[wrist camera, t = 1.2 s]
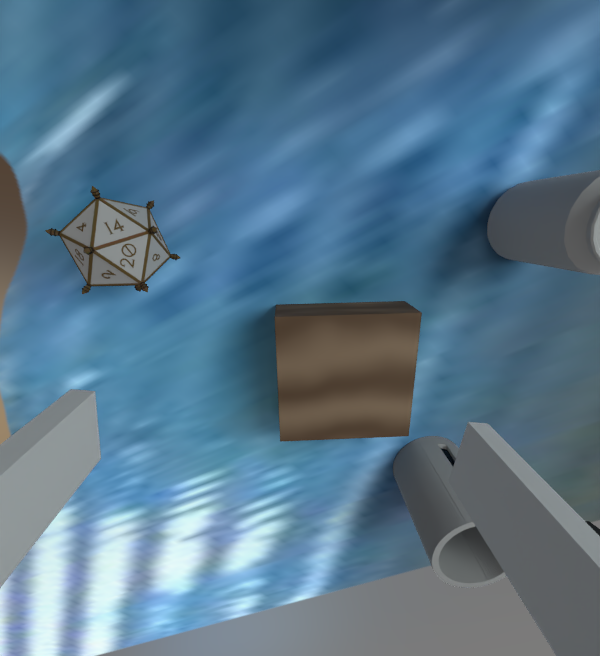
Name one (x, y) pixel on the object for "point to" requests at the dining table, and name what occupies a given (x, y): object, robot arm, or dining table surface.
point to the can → (550, 223)
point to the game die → (115, 243)
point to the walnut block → (346, 369)
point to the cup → (443, 515)
